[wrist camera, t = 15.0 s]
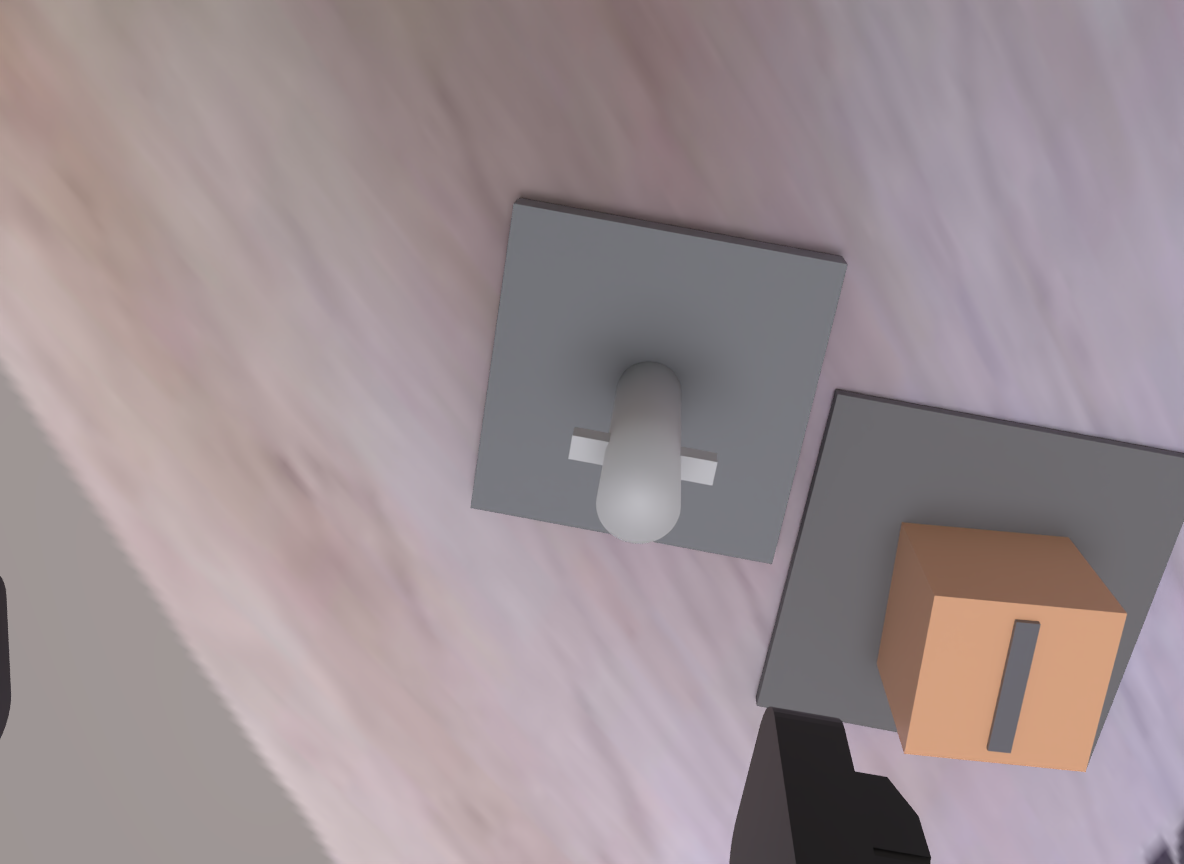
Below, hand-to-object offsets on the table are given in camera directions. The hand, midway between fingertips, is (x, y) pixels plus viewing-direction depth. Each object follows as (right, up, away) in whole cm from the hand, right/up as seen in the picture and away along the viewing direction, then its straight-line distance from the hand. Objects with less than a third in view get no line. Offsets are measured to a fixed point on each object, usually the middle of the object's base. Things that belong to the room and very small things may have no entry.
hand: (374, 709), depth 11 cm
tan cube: (+17, -4, +32) cm, 37 cm away
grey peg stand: (+4, +5, +31) cm, 32 cm away
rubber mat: (+17, -3, +33) cm, 37 cm away
